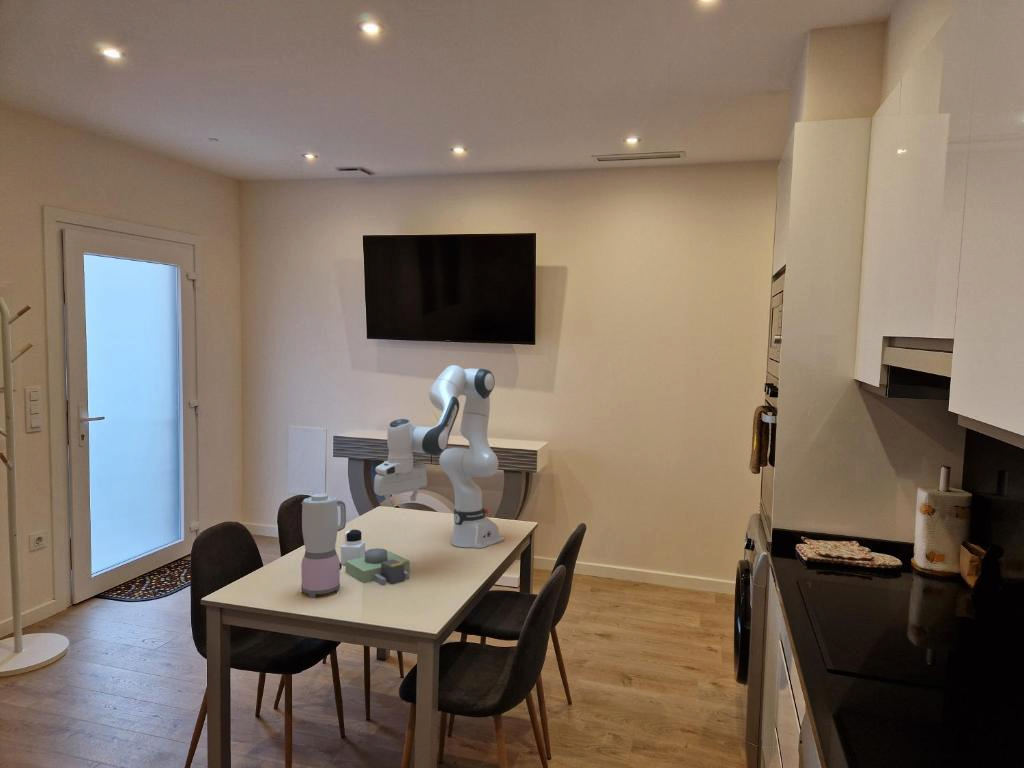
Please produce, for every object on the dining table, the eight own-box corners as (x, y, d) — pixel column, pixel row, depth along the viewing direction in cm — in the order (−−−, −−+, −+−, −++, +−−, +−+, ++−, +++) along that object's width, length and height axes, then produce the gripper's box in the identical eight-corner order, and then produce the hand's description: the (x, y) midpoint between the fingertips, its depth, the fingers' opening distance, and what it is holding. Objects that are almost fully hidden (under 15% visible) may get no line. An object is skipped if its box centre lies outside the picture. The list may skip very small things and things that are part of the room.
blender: (312, 601, 213) (310, 501, 211) (294, 590, 222) (292, 495, 220) (355, 588, 224) (354, 494, 222) (337, 579, 233) (336, 488, 231)
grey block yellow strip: (393, 575, 237) (393, 557, 236) (404, 581, 231) (404, 562, 231) (381, 579, 233) (381, 560, 233) (391, 584, 228) (391, 565, 228)
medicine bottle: (365, 559, 254) (365, 528, 253) (359, 565, 247) (359, 533, 246) (347, 559, 255) (347, 527, 254) (340, 565, 248) (340, 533, 247)
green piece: (390, 561, 252) (389, 543, 251) (418, 576, 236) (418, 556, 236) (345, 571, 240) (345, 552, 240) (372, 587, 225) (371, 567, 224)
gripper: (420, 459, 248) (421, 496, 250) (371, 468, 235) (372, 506, 237) (430, 462, 244) (431, 499, 245) (380, 471, 231) (381, 510, 232)
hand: (402, 503), depth 241 cm, fingers open, 8 cm apart
